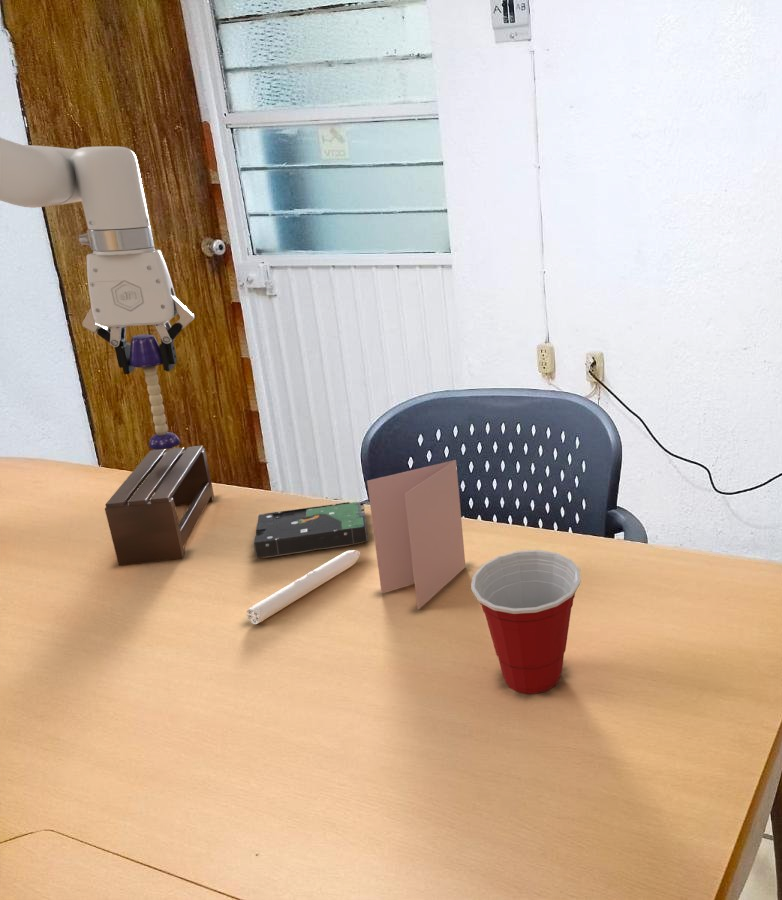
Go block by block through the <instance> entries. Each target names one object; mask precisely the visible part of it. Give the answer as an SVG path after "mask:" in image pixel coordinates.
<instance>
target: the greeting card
mask: <svg viewBox="0 0 782 900" xmlns="http://www.w3.org/2000/svg"><path fill="white" fill-rule="evenodd" d="M366 483H367V484H366V485H367V493H368V500H369V507H370V513H371V523H372V529H373V537H374V545H375V553H376V561H377V569H378V576H379V584H380V591H381V594H383V593H387V592H391V591H395V590H397V589H401V588H403V587H406V586H409V585H413V584H414V589H415V597H416V598H415V599H416V606H417V610H418V611H419V610H420V609H422V607H423V606H424V605H425V604H427V603H428V602H429V601H430V600H431V599H432V598H433V597H434V596H436V594H437V593H439V592H440V591H441V590H442V589H443V588H444V587H445V586H447V584H449V583H450V582H451V581H453V579H454V578H456V577H457V576H458V575H459V574H460V573H461V572H462V571H463V570H464V569H466V567H467V566H466V555H465V545H464V534H463V533H464V531H463V521H462V512H461V499H460V488H459V477H458V466H457V460H456V459H454V460H449V461H445V462H440V463H437V464H433V465H428V466H424V467H420V468H416V469H412V470H411V469H410V470H407V471H403V472H398V473H395V474H390V475H386V476H381V477H377V478H373V479H369V480H366Z"/></svg>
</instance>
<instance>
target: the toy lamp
mask: <svg viewBox="0 0 782 900" xmlns="http://www.w3.org/2000/svg"><path fill="white" fill-rule="evenodd" d="M130 345H131V347H130V360H129V363H130V365H131V366H132V367H135V368H142V371H143V373H144V375H145V376H144V382H145V383H146V384H147V386H146V390H147V393H148V394H149V396H148V400H149V401H148V402H149V403H150V405H151V406H150V412H151V415H152V422H153V424H154V433H155V434H154V435H152V436H151V437H150V439H149V441H148V448H149V449H151V450H161V449H166V450H169V449H170V448H176V447H179V445H181V440H180V438H179V437H178V435H177V434H176V433H173V432H171V431H169V429H168V428H169V427H168V424H167V423H166V422H167V417H166V414H165V406H164V404H163V402H164V400H163V395H162V394H161V391H162V390H161V386H160V384H159V376H158V374H157V372H158V371H157V366H161V365H163V363H162V358H161V353H160V348H159V345H160V343H159V342H158V340H157V338H156V337H155V335H153V334H137V335H134V336H132V338H131V339H130Z"/></svg>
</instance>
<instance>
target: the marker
mask: <svg viewBox="0 0 782 900" xmlns="http://www.w3.org/2000/svg"><path fill="white" fill-rule="evenodd" d="M360 555H361V553H360V551H359V550H354V549H353V550H347V551H344V552H342V553H340V554H339V555H337V556H335V557H333V558H332V559H330V560H328V561H327V562H324V563H322V565H320V566H318V567H315V569H311V571H309V572H307V573H306V574H305V575H302V576H301V577H299V578H297V579H295V580H294V581H293V582H291V583H290V584H288V585H285V586H284V587H282V588H281V589H279V590H278V591H275V592H274V593H272V594H271V595H269V596H267V597H266V598H264V599H262V600H260V601H259V602H257V603H256V604H254V605H252V606H250V607H249V608H248V609H246V617H247V619H248V621H249V622H250V623H251V624H253V625H258V624H260V623H262V622H263V621H265V620H267V619H268V618H270V617H272V616H273V615H275V614H276V613H278V612H280V611H281V610H283V609H284V608H287V607H288V606H290V605H291V604H293V603H294V602H295V601H297V600H299V599H300V598H302V597H304V596H306V595H308V594H310V593H311V592H312V591H314V590H316V589H317V588H319V587H320V586H322V585H323V584H326V583H327V582H328V581H330V580H331V579H333V578H335V577H337V576H338V575H340V574H341V573H343V572H345V571H346V570H348V569H350V568H351V567H352V566H353V565H355V564H356V563H357V561H358V560H359V557H360Z"/></svg>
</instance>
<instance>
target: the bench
mask: <svg viewBox="0 0 782 900" xmlns="http://www.w3.org/2000/svg"><path fill="white" fill-rule="evenodd" d="M214 499H215V495H214V489H213V484H212V477H211V473H210V468H209V463H208V457H207V453H206V448H204V446H203V445H193V446H187V447H186V449H185V446H182V447H172V448H168V449H161V450H155V449H151V450H149V451H148V452H147V454H146V455H145V456H144V457H143V458H142V459H141V461H140V462H139V463H138V464H137V466H136V467H135V468H134V469H133V470H132V472H131V473H130V474H129V475H128V476H127V478H126V479H125V480H124V481H123V483H121V485H120V486H119V487H118V488H117V490H116V491H115V492H114V493H113V494H112V496H110V498H108V500H107V502H106V503H105V508H104V511H105V516H106V520H107V523H108V527H109V533H110V537H111V541H112V544H113V548H114V552H115V553H114V554H115V556H116V561H117V564H118V566H128V565H135V564H145V563H146V564H147V563H152V562H153V563H154V562H161V561H162V562H163V561H170V560H179V559H183V558H184V556H185V554H186V551H185V545H186V544H187V541H188V540H189V538H190V536H191V534H192V532H193V531H194V529H195V527H196V525H197V523H198V521H199V520H200V518H201V516H202V513H203V512H204V510H205V509H206V507H207V505H208V503H212V502H214ZM183 505H189V506H188V508H187V509H186V511H185V513H184V514H183V517H182V518H181V520H180V522H179V518H178V514H177V508H176V506H183Z"/></svg>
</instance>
